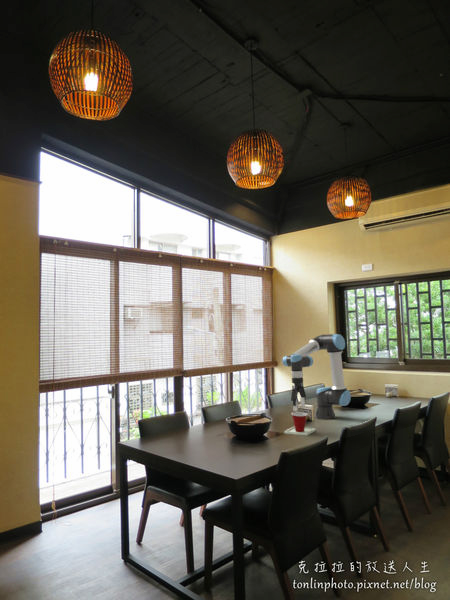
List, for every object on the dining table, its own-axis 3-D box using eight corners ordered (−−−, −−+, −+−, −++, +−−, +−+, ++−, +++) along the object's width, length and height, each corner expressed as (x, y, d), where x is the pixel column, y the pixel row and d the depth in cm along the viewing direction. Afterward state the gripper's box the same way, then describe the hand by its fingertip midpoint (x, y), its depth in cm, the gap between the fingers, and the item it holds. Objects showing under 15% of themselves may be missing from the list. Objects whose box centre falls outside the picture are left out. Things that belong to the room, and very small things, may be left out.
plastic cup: (302, 433, 278) (302, 415, 279) (289, 431, 285) (288, 413, 286) (311, 430, 286) (310, 412, 287) (297, 428, 293) (296, 411, 294)
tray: (293, 428, 297) (293, 426, 297) (315, 430, 288) (315, 428, 288) (284, 433, 283) (284, 431, 283) (307, 435, 275) (306, 433, 275)
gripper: (299, 375, 301) (300, 405, 300) (284, 379, 280) (286, 411, 278) (309, 375, 297) (311, 405, 296) (295, 379, 276) (297, 412, 275)
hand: (299, 408), depth 287 cm, fingers open, 13 cm apart
